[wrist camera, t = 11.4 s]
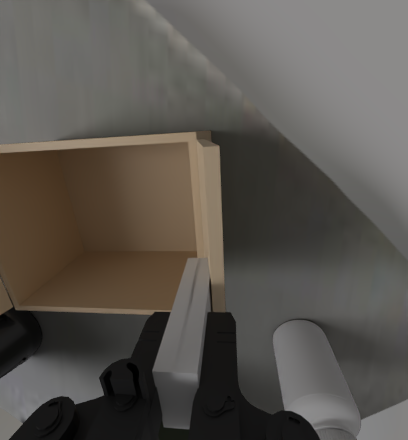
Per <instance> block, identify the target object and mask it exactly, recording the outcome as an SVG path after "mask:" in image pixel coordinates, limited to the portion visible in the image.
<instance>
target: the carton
mask: <svg viewBox="0 0 408 440" xmlns="http://www.w3.org/2000/svg"><path fill="white" fill-rule="evenodd" d="M200 139H206V140H208V141H210V142H211V131H196V132H181V133H165V134H150V135H135V136H120V137H105V138H90V139H74V140H59V141H44V142H30V143H16V144H1V145H0V275H1V277H2V280H3V282H4V284H5V287H6V289H7V291H8V293H9V296H10V298H11V300H12V303H13V305H14V307H15V309H16V310H27V311H56V312H84V313H113V314H141V315H152V314H153V313H154V312H171V310H172V307H173V304H174V301H175V297H176V294H177V291H178V288H179V285H180V282H181V278H182V275H183V272H184V269H185V266H186V263H187V259H188V258H205V256H204V242H203V227H202V213H201V199H200V184H199V170H198V156H197V141H196V140H200Z"/></svg>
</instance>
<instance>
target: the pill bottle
mask: <svg viewBox="0 0 408 440" xmlns="http://www.w3.org/2000/svg"><path fill="white" fill-rule="evenodd" d="M273 347H274V353H275V359H276V364H277V370H278V376H279V381H280V387H281V393H282V398H283V404H284V410H285V411H292V412H295V413H297V414H299V415H301V416H302V417H304V418H305V419H306V420H307V421H308V422H309V423H310V424H311V425H312V427H313V428H314V430H315V431H316V433H317V434H318V436H319V438H320V440H357V439H356V436H357V435H358V433H359V431H360V427H361V418H360V413H359V410H358V408H357V405H356V403H355V401H354V398H353V396H352V394H351V392H350V389H349V387H348V385H347V383H346V380H345V378H344V376H343V373H342V371H341V369H340V367H339V364H338V362H337V360H336V358H335V355H334V353H333V351H332V348H331V346H330V344H329V342H328V339H327V337H326V335H325V334H324V332H323V330H322V329H321V328H320V327H319V326H317V325H316V324H314V323H312V322H310V321H306V320H291V321H288V322H285V323H283V324H282V325H280V326H279V327H278V328H277V329H276V331H275V332H274V335H273Z"/></svg>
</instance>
